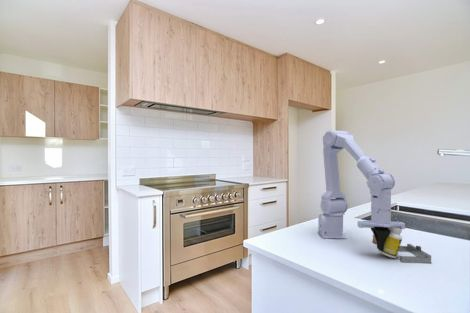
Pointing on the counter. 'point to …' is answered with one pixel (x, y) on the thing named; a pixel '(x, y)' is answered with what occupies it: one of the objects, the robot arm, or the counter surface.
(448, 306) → the counter surface
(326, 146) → the robot arm
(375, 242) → the tan cardboard box
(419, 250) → the steel cradle
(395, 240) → the supplement bottle
